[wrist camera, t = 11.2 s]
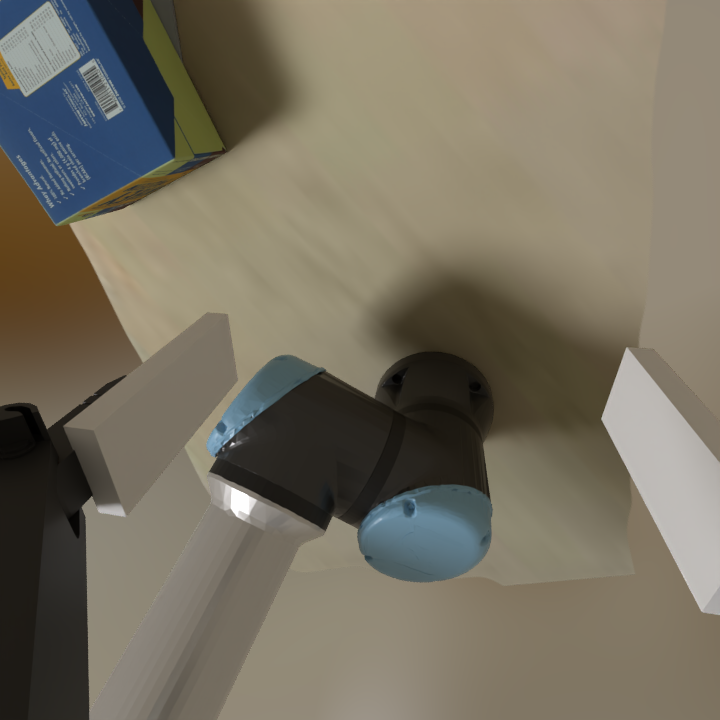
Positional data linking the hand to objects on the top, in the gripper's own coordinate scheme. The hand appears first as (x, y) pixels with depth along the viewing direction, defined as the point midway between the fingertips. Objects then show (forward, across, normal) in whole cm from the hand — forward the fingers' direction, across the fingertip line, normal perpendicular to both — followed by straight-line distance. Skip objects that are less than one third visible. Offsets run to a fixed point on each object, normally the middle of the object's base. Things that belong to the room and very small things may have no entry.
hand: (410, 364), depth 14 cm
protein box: (+29, +25, -11) cm, 40 cm away
